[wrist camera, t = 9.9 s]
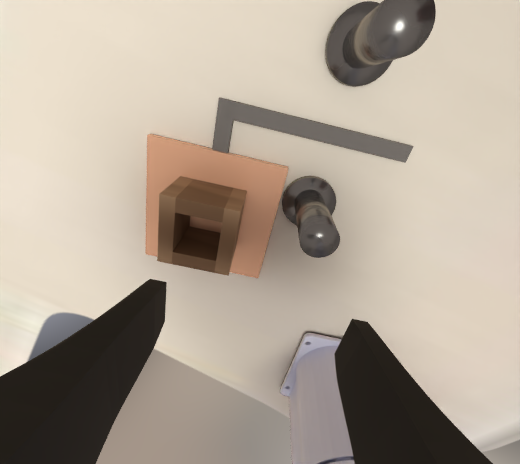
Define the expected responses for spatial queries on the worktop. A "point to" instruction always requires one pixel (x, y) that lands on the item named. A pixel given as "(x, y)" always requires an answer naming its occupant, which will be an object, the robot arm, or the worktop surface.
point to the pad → (223, 173)
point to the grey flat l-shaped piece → (300, 130)
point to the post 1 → (312, 214)
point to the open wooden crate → (195, 239)
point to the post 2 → (376, 38)
